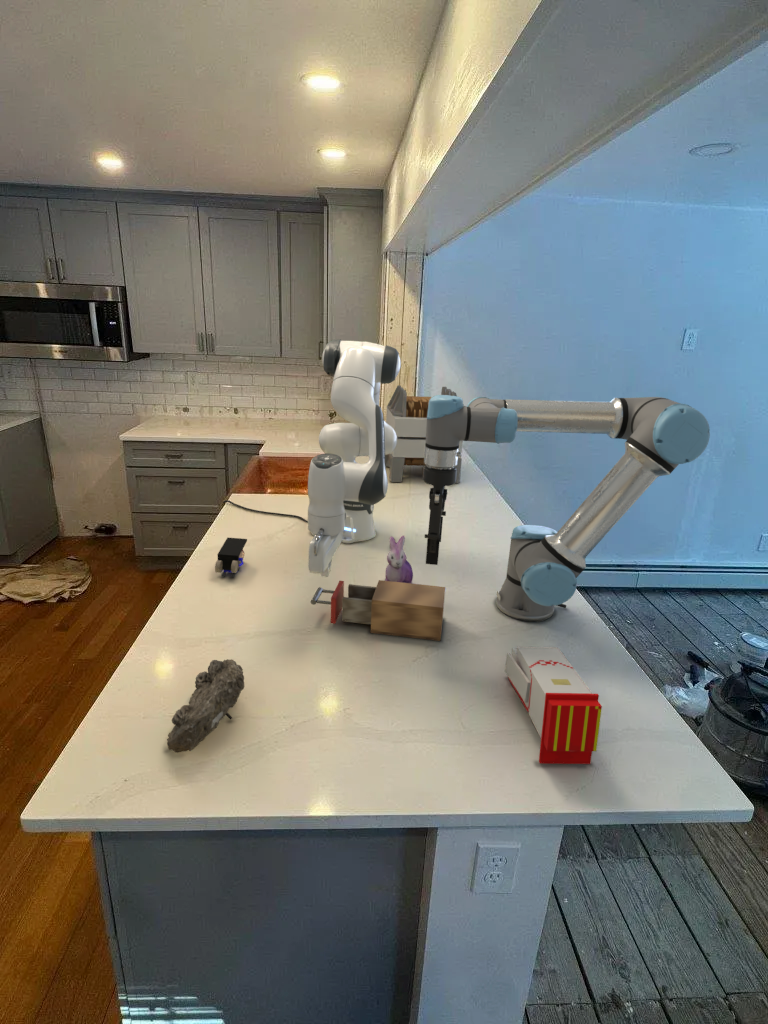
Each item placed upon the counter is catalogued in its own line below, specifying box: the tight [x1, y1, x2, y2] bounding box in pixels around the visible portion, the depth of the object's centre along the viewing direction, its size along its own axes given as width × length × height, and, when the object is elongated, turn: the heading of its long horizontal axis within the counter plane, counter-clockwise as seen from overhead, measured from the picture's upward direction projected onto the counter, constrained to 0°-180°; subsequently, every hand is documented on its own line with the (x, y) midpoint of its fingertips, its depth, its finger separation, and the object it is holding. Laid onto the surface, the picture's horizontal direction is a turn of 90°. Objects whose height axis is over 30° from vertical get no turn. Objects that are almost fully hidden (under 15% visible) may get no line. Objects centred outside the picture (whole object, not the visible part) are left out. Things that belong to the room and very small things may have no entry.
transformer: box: [385, 384, 464, 484], centre depth 268 cm, size 34×33×41 cm
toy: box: [504, 646, 603, 765], centre depth 112 cm, size 12×13×30 cm
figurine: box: [384, 535, 414, 584], centre depth 160 cm, size 9×10×15 cm
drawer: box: [310, 580, 377, 625], centre depth 143 cm, size 21×10×7 cm, turn 82°
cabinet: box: [370, 579, 446, 642], centre depth 141 cm, size 17×11×9 cm, turn 82°
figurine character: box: [214, 537, 248, 578], centre depth 166 cm, size 7×8×15 cm
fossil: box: [166, 658, 245, 754], centre depth 106 cm, size 22×10×15 cm
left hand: (325, 574), depth 141 cm, fingers closed
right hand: (433, 552), depth 135 cm, fingers open, 13 cm apart
